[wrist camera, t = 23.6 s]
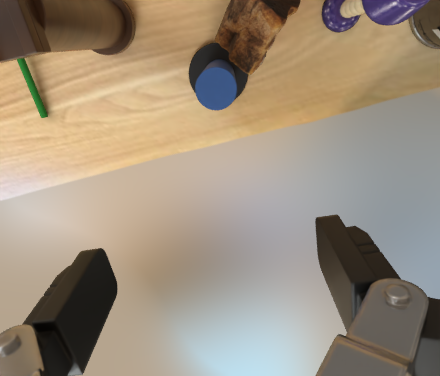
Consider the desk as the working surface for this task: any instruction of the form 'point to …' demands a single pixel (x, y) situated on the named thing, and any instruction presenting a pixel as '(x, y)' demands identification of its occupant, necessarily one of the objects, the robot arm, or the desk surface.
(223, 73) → the tube
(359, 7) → the toy lamp
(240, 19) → the decorative rock
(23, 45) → the post
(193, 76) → the coaster
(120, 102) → the desk surface
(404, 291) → the robot arm
